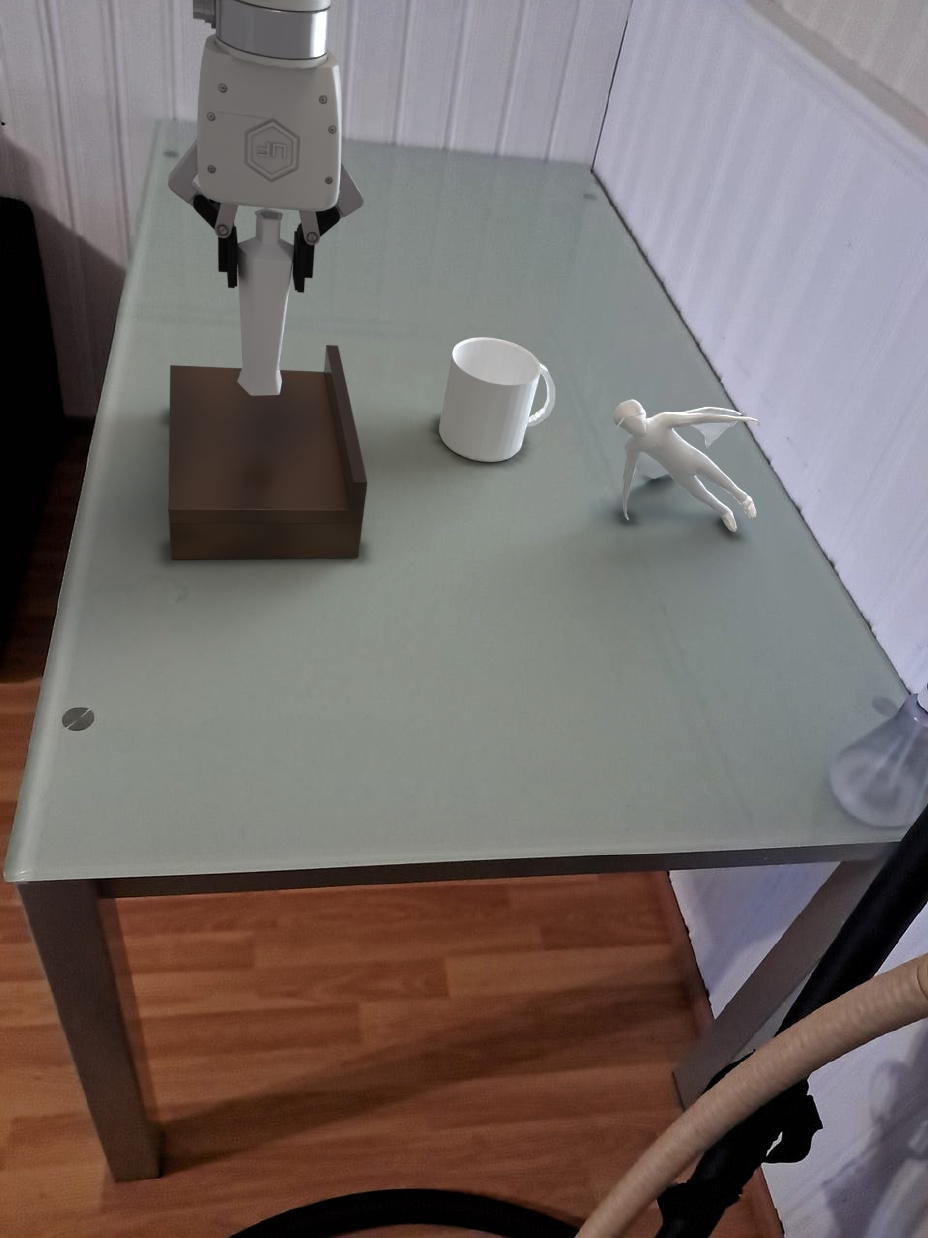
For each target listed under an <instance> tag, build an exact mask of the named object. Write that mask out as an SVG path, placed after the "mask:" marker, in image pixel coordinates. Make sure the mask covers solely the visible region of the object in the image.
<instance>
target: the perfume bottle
mask: <svg viewBox="0 0 928 1238" xmlns="http://www.w3.org/2000/svg"><path fill="white" fill-rule="evenodd" d="M254 215H255V216H256V219H255V236H253V237H250V238H248V239H245V240H242V241H240V242H238V264H237V284H238V301H239V320H240V341H241V343H240V345H241V360H242V361H241V363H242V367H241V368H242V369H241V372H240V375H239V378H238V381H237V382H238V383H239V384H240V385H241V386H242V387H243V388H244V389H245V390H246V391H247V392H248V393H249V394H250V395H252V396H259V395H279V394H280V389H281V384H282V379H281V374H280V370H281V369H280V362H281V356H282V355H281V353H282V346H283V339H284V330H285V324H286V317H287V310H288V309H287V308H288V301H289V293H290V285H291V278H292V269H293V256H294V244H292V243H290V242H289V241H287V240H285V239H283V238H281V222H282V219H283V215H284V213H283V212H281V211H278V210H276V209H275V210H274V209H273V208H264V207H263V208H261V209H258V210H255V211H254Z"/></svg>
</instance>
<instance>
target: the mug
mask: <svg viewBox="0 0 928 1238" xmlns="http://www.w3.org/2000/svg"><path fill="white" fill-rule="evenodd" d="M451 353H452V354H451V359H450V365H449V370H448V374H447V381H446V386H445V392H444V397H443V402H442V408H441V414H440V420H439V425H438V433H439V435H440V438H441V440H442V442H443V443H444V445H445V446H446V447H448V449H449V450H451V451H452V452H454V453H455V454H457V455H460V456H461V457H463V458H466V459H468V460H473V461H476V462H484V463H496V462H502V461H505V460H506V461H507V460H509V459H511V458H512V457H514V456H515V455H516V454H517V453H519V451H520V450H521V448H522V447H523V442H524V438H525V435H526V430H527V428H529V427H530V428H532V427H535V426H536V425H538V424H540V423H542V422H543V421H545V420H546V418H548V417H550V415H551V414H552V412H553V408H554V407H555V404H556V386H555V382H554V380H553V378H552V376H551V373H550V371H549V370H548V368H547V367H546V366H545V365H544V364H542V363H540V361H539V359H538V358H537V357H536V356H535V354H533V353H532V352H530V350H528V349H526V348H525V347H523V346H521V345H519V344H517V343H515V342H512V341H508V340H505V339H500V338H496V337H495V338H494V337H483V336H482V337H481V336H480V337H472V338H467V339H464V340H462V341H460V342H459V343H457V344H456V345H455V346H454V347H453V350H452V352H451ZM540 375H541V376H542V377H543V379H544V380H545V385H546V394H547V396H546V400H545V402H544V406H543V407H542V408H541V409H539V410H538V411H536V412H535V413H534V414H532V415H530V414H531V411H532V407H533V403H534V399H535V396H536V392H537V387H538V384H539V380H540Z"/></svg>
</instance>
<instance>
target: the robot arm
mask: <svg viewBox="0 0 928 1238" xmlns="http://www.w3.org/2000/svg"><path fill="white" fill-rule="evenodd" d="M331 2H332V0H192V19H193V20H199V21H204V23H205V24H210V29H212V30H215V33H213V34H210V35H208V36H207V37H206V39H205V41H204V46H203V52H202V56H201V63H200V71H199V83H198V84H199V85H198V93H197V94H198V95H197V116H196V117H197V118H196V123H197V124H196V125H197V126H196V127H197V128H196V139H195V140H194V142H193V143H192V144H191V146H190V147H189V148H188V149H187V151H186V152H185V153H184V154H183V156H182V157H181V159H180V160H179V161H178V162H177V164H176V165H175V166H174V168H173V169H172V170H171V172H170V173H169V174H168V177H167V178H168V180H167V182H168V184H167V185H168V189H169V190H170V191H171V192H172V193H174V194H175V195H177V196H178V197H179V198H180V199H181V200H183V201H184V202H185V203H187V204H189V205H190V207H193V209H194V210H195V212H196V213H197V214H198V215H199V216H200V217H201V218H202V219H203V220H204V221H205V222H206V223H207V224H208V225H209V226H210V227H211V228H212V230H214V233H215V235H216V236H217V268H218V269H217V270H218V273H226V280H227V288H228V289H235V288H236V287H238V243H239V242H238V231H237V229H238V228H237V225H235V219H236V215H237V212H238V208H239V206H242V207H251V208H252V207H253V208H254V207H255V208H263V209H264V208H268V209H275V210H277V209H278V210H287V211H289V210H290V211H298V213H299V219H300V223H298V225H297V227H296V230H294V231H293V245H294V256H293V264H292V271H291V277H292V283H293V288H294V291H296V292H297V293H299V294H300V293H302V294H304V293H305V287H306V279H313V277H314V265H315V250H316V249H315V248H316V245H317V244H318V243H319V242H320V240H321V237H323V236H324V235H325V234H326V233H327V232H329V230H331V229H332V228H333V227H334V226H335V225H337V224H338V223H339V222H340V220H341V219H343V218H346V217H347V216H349V215H351V214H353V213H354V212H356V211H357V210H359V209H360V208H361V207H362V206H363V205H364V202H365V201H364V198H363V194H362V191H361V190H360V188H359V186H358V185H357V183H356V181H355V180H354V178H353V176H352V175H351V173H350V172H349V169H348V168H347V167H346V165H345V163H344V162H343V160H342V141H343V140H342V137H343V135H342V134H343V132H342V131H343V107H342V105H343V104H342V103H343V102H342V101H343V100H342V85H341V84H342V82H341V72H340V64H339V60H338V58H337V57H336V56H335V54H334V53H332V51H330V50H329V38H330V24H331V23H330V20H331V6H332V5H331ZM196 177H198V183H199V185H198V183H196V182H195V181H194V179H195V178H196Z"/></svg>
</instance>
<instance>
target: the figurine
mask: <svg viewBox="0 0 928 1238" xmlns="http://www.w3.org/2000/svg"><path fill="white" fill-rule="evenodd" d="M612 419H613V420H612V421H613V422H614V424H615V425H616V429H615V430H614V432H613V433H612V435H611V436H610V438H609V439H608V441H610V440H611V439H612V438H613V436H614V434H615V433H616V432H617V430H618V428H621V429H623V430H625V431H626V432H627V433H629V434H630V435H629V436H628V438H627V439H626V441H625V445H624V454H625V462H624V469H623V475H622V510H623V516H624V518H625V519H626V520H627V521H630V519H629V515H628V514H627V511H628V510H627V506H628V499H629V496H630V494H631V489H632V486H633V482H634V479H635V472H636V470H638V471H639V472H640V473H641V474H643V475H644V476H645V477H647V478H649V479H652V480H656V479H659V478H662V477H664V476H667V475H669V477H670V478H671V479H672V480H673V481H674V482H675V483H677V484H678V485H679V486H680V487H682V488H683V489H685V490H686V491H687V492H688V493H689V494H691V496H693V497H694V498H695V499H696V500H698V501H700V502H701V503H702V504H703V503H704V504H705V505H707V506H709V507H710V508H711V509H712V510H714V511H715V512H716V513H717V514H718V516H719V517H720V518H721V519H722V522H723V524H724V525H725V527H726V528H727V529H728V530H729V531H730V532H732V533H735V532H737V530H738V529H737V522H736V518H735V517H734V513H733V511H732V510H731V508H729V507H728V506H726V505H725V504H724V503H723V502H721V501H720V500H718V498H717V497H716V496H715V495H713V493H711V492H710V491H709V490H707V488H706V487H705V486H704V484H703V483H702V482H701V481H700V479H699V478H698V477H697V475H699V476H701V477H702V478H705V479H706V480H708V481H710V482H711V483H713V484H715V485H716V486H717V487H719V488H720V489H722V490H723V491H725V492H727V493H728V494H729V495H730V496H732V497H733V498H734V499H735V500H736V502H738V503H739V506H740V507H741V508H742V510H743V512H744V513H745V514H746V515H747V517H748V519H750V520H755V519H756V517H757V509H756V507H755V504H754V501H753V498H752V497H751V496H750V495H748V494H747V492H744V491H743V490H742V489H741V488H739V487H738V486H737V485H736V484H735V483H734V482H733V481H732V480H731V478H730V477H728V475H726V474H725V473H724V472H723V471H722V470H721V469H720V468H719V467H718V466H717V464H715V462H714V461H712V460H711V459H710V458H709V457H708V456H707V455H706V454H705V453H703V452H702V451H700V450H699V449H698V448H696V447H695V446H693V445H692V444H690V443H689V442H687V441H686V440H685V439H684V438H682V437H681V435H679V434H678V433H677V432H676V430H675V428H676V429H677V428H683V427H689V426H690V427H693V428H694V429H696V430H698V431H699V432H700V433H701V434H702V435H704V444H705V448H706V449H707V448H708V447H710V446H711V445H712V444H713V443H714V442H715V441H717V439H718V438H719V437H720V436H721V435H722V434H723V433H724V432H725V431H726V430H728V429H729V428H731V427H733V426H737V424H738V423H739V422H744V423H751V424H755V425H757V426H760V427H761V424H760V420H758V419H757V418H755V417H750V416H742V412H738V411H737V410H733V409H728V408H723V407H714V406H713V407H712V406H706V407H705V406H704V407H701V408H696V409H691V410H686V411H681V412H678V411H677V412H670V411H664V412H659V413H657V414H655V415H653V416H651V417H647V412H646V410H645V409H644V408H643V406H642V405H641V403H640V402H639V401H637V400H636V399H629V400H625V401H622V402H620V403H619V404H618V406H617V407H616V408H615V411H613V414H612Z"/></svg>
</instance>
